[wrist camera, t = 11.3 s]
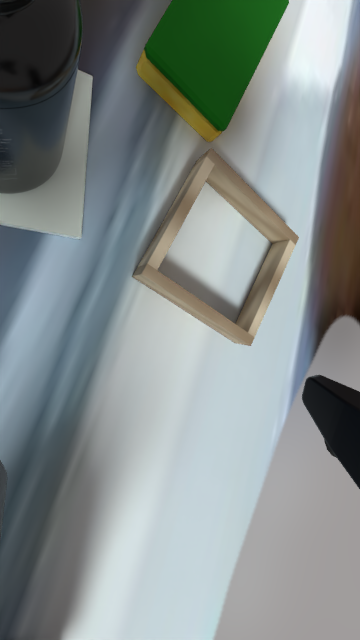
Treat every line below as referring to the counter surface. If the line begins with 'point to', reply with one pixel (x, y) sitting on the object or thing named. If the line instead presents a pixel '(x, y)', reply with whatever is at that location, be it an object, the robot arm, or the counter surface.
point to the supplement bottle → (36, 87)
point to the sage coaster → (58, 179)
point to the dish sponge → (208, 57)
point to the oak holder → (251, 209)
